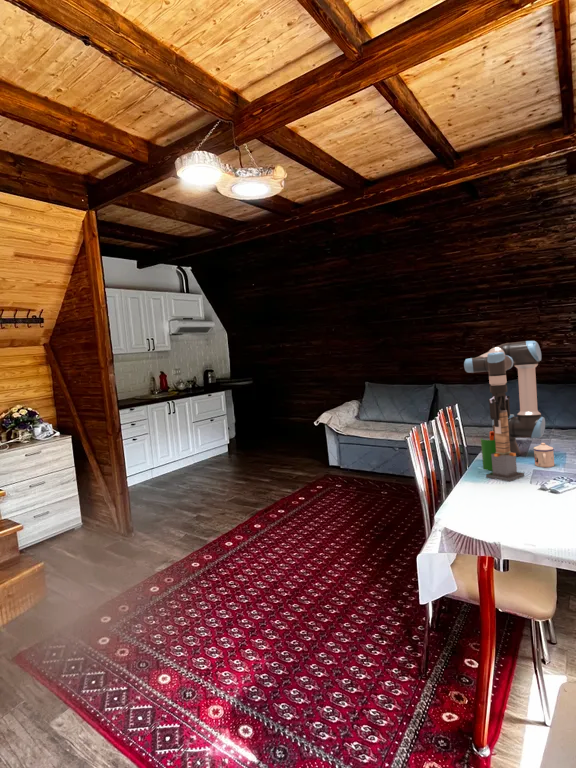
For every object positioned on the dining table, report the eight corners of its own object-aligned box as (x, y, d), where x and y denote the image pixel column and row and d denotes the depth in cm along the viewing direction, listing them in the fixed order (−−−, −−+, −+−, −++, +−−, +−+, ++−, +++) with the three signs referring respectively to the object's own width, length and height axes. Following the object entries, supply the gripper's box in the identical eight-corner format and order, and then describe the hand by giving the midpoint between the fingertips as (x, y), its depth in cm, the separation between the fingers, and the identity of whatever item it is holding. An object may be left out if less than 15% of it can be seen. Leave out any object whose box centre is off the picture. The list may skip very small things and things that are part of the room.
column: (502, 455, 214) (498, 409, 213) (510, 457, 210) (507, 410, 209) (496, 457, 211) (492, 411, 210) (505, 459, 207) (501, 411, 206)
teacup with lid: (534, 463, 230) (532, 441, 230) (554, 463, 226) (552, 441, 226) (534, 468, 220) (533, 445, 219) (555, 469, 215) (554, 445, 215)
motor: (501, 466, 231) (498, 428, 230) (507, 470, 222) (504, 431, 221) (481, 467, 232) (478, 430, 231) (487, 471, 223) (484, 432, 222)
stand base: (501, 472, 219) (499, 448, 219) (524, 476, 209) (522, 451, 208) (486, 477, 213) (484, 452, 212) (509, 481, 203) (507, 455, 202)
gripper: (501, 382, 217) (505, 429, 218) (479, 386, 208) (483, 434, 209) (516, 382, 210) (519, 430, 211) (493, 386, 201) (497, 436, 202)
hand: (501, 432), depth 210 cm, fingers closed on column, 5 cm apart
